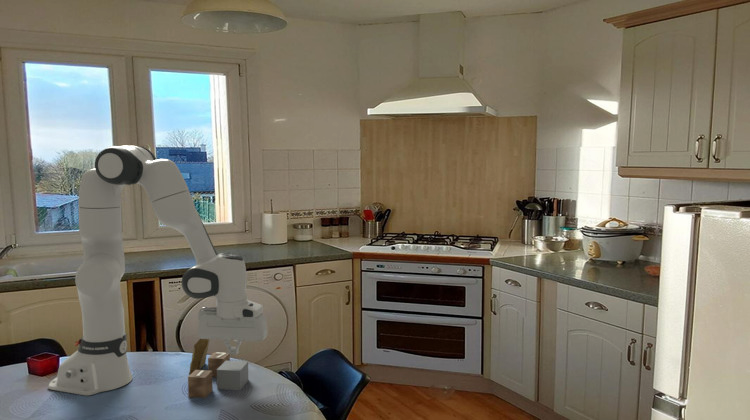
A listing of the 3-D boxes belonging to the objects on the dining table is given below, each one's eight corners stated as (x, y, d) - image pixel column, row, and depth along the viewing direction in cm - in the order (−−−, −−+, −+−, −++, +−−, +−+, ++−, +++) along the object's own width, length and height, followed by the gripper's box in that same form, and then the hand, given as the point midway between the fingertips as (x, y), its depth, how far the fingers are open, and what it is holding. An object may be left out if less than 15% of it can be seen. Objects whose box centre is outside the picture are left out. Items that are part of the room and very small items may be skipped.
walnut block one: (188, 397, 153) (187, 376, 152) (196, 389, 158) (195, 369, 157) (205, 398, 152) (205, 377, 152) (212, 390, 157) (212, 369, 157)
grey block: (217, 389, 158) (216, 369, 158) (226, 379, 165) (225, 360, 164) (240, 390, 158) (240, 370, 157) (248, 380, 164) (248, 361, 164)
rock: (200, 371, 165) (221, 355, 174) (184, 348, 166) (206, 334, 174) (181, 385, 170) (202, 369, 179) (166, 362, 170) (188, 348, 179)
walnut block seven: (208, 376, 167) (207, 357, 166) (214, 370, 172) (214, 351, 171) (224, 377, 166) (223, 358, 166) (230, 371, 171) (229, 352, 170)
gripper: (193, 310, 157) (194, 356, 158) (262, 312, 155) (263, 358, 156) (202, 303, 163) (203, 348, 164) (268, 305, 161) (269, 350, 162)
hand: (233, 353), depth 160 cm, fingers closed
